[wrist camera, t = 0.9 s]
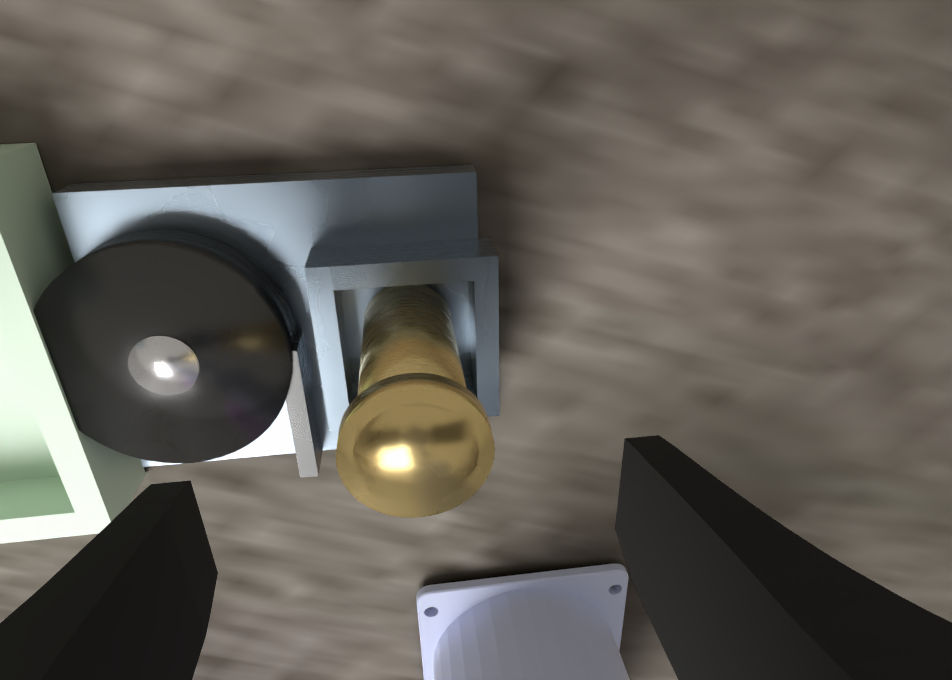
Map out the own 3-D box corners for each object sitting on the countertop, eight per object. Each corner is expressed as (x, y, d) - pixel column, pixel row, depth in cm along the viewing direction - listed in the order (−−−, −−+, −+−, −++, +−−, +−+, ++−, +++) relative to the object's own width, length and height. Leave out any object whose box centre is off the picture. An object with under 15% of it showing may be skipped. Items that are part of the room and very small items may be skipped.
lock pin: (463, 365, 18) (495, 509, 13) (358, 374, 18) (346, 525, 12) (460, 268, 17) (493, 382, 11) (346, 275, 16) (325, 396, 11)
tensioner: (487, 416, 20) (500, 464, 18) (114, 450, 19) (78, 506, 17) (483, 163, 16) (497, 185, 14) (21, 186, 15) (-42, 213, 13)
